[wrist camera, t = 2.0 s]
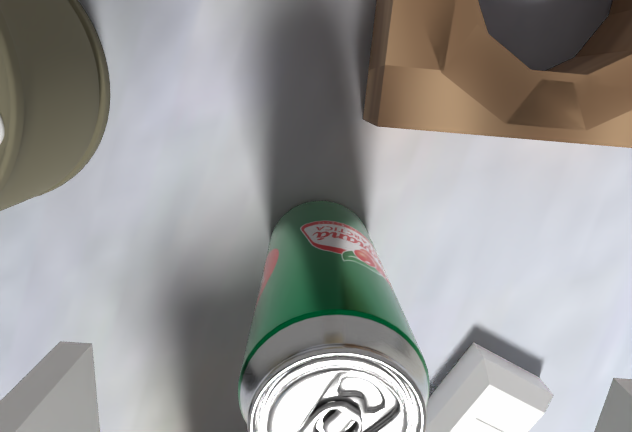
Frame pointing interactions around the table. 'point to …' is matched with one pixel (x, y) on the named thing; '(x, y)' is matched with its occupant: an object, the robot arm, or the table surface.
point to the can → (48, 96)
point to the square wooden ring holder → (495, 78)
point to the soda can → (329, 334)
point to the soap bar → (486, 396)
